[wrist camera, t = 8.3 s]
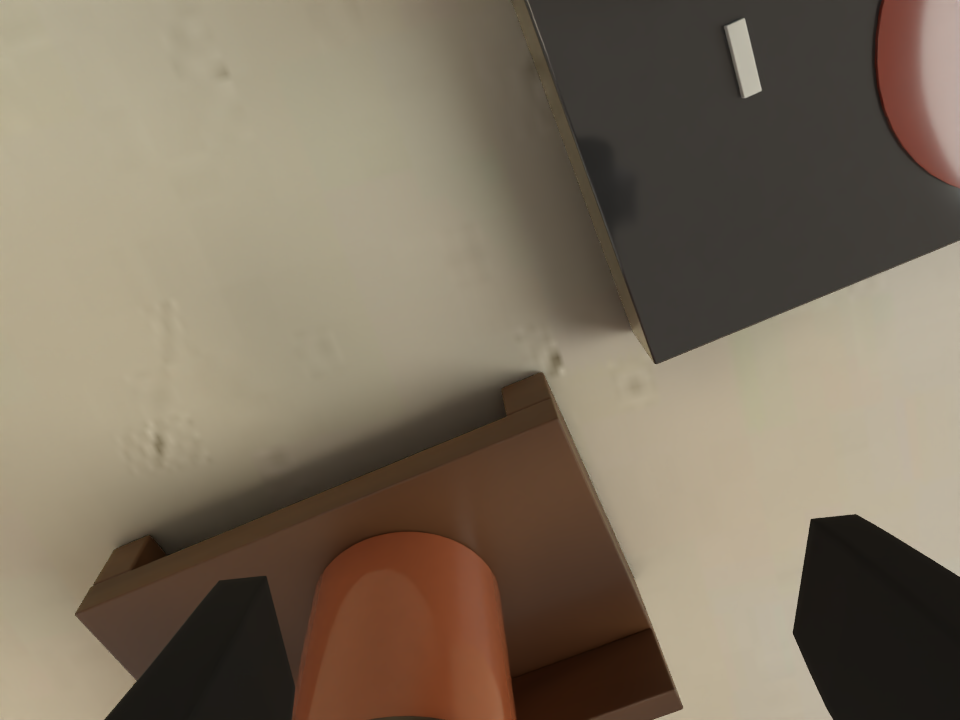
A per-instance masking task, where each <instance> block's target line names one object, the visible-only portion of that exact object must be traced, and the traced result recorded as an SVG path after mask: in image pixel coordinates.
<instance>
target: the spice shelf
mask: <svg viewBox="0 0 960 720" xmlns="http://www.w3.org/2000/svg"><path fill="white" fill-rule="evenodd" d="M501 392H502V397H503V402H504V407H505V412H506V416H507V417H504V418H502V419H499V420H497V421H494V422H492V423H490V424H487V425H485V426H482V427H480V428H477V429H475V430H472V431H470V432H468V433H465V434H463V435H460V436H458V437H455V438H453V439H451V440H448V441H446V442H443V443H441V444H438V445H436V446H433V447H431V448H429V449H426V450H424V451H421V452H419V453H416V454H414V455H412V456H409V457H407V458H404V459H402V460H399V461H397V462H394V463H392V464H390V465H387V466H385V467H382V468H380V469H377V470H375V471H373V472H370V473H368V474H365V475H363V476H360V477H358V478H355V479H353V480H351V481H348V482H346V483H343V484H341V485H338V486H336V487H334V488H331V489H329V490H326V491H324V492H321V493H319V494H316V495H314V496H312V497H309V498H307V499H304V500H302V501H299V502H297V503H294V504H292V505H290V506H287V507H285V508H282V509H280V510H277V511H275V512H273V513H270V514H268V515H265V516H263V517H260V518H258V519H255V520H253V521H251V522H248V523H246V524H243V525H241V526H238V527H236V528H234V529H231V530H229V531H226V532H224V533H221V534H219V535H216V536H214V537H212V538H209V539H207V540H204V541H202V542H199V543H197V544H195V545H192V546H190V547H187V548H185V549H182V550H180V551H177V552H175V553H173V554H170V555H168V556H167V555H166V554H165V553H164V551H163V550H162V549H161V548H160V546H159V545H158V544H157V543H156V542H155V540H154V539H153V538H152V537H151V536H150V535H147V536H145V537H143V538H140V539H138V540H135V541H133V542H131V543H128V544H126V545H123V546H121V547H119V548H116V549H115V550H114V551H113V552H112V554H111V556H110V557H109V559H108V561H107V562H106V564H105V566H104V567H103V569H102V571H101V572H100V574H99V576H98V577H97V579H96V581H95V582H94V584H93V586H92V587H91V588H90V590H89V591H88V593H87V595H86V596H85V598H84V600H83V601H82V603H81V605H80V606H79V608H78V610H77V611H76V613H75V616H76V617H77V618H78V619H79V620H80V621H81V622H82V623H83V624H84V625H85V626H86V627H87V628H88V630H89V631H90V632H91V633H92V634H93V635H94V636H95V637H96V638H97V639H98V640H99V641H100V642H101V643H102V644H103V645H104V646H105V648H106V649H107V650H108V651H109V652H110V653H111V654H112V655H113V656H114V657H115V658H116V659H117V660H118V661H119V662H120V663H121V665H122V666H123V667H124V668H125V669H126V670H127V671H128V672H129V673H130V674H131V675H132V676H133V677H134V678H135V679H136V680H138V679H139V678H140V677H141V676H142V674H143V673H144V672H145V671H146V670H147V668H148V667H149V666H150V665H151V663H152V662H153V661H154V660H155V658H156V657H157V656H158V655H159V654H160V652H161V651H162V650H163V649H164V647H165V646H166V645H167V644H168V642H169V641H170V640H171V639H172V637H173V636H174V635H175V634H176V632H177V631H178V630H179V629H180V627H181V626H182V625H183V624H184V622H185V621H186V620H187V619H188V617H189V616H190V615H191V614H192V612H193V611H194V610H195V609H196V608H197V606H198V605H199V604H200V603H201V601H202V600H203V599H204V598H205V597H206V595H207V594H208V593H209V592H210V590H211V589H212V588H213V587H214V586H215V585H216V584H217V582H218V581H219V580H228V579H238V578H247V577H257V576H267V580H268V584H269V588H270V592H271V596H272V599H273V603H274V607H275V611H276V615H277V619H278V622H279V626H280V630H281V634H282V638H283V642H284V646H285V649H286V653H287V657H288V661H289V665H290V669H291V672H292V676H293V680H294V684H295V685H296V680H297V675H298V670H299V665H300V660H301V655H302V650H303V645H304V640H305V635H306V630H307V625H308V620H309V614H310V609H311V604H312V599H313V594H314V591H315V587H316V584H317V582H318V580H319V578H320V576H321V574H322V573H323V572H324V570H325V569H326V567H327V566H328V565H329V564H330V563H331V562H332V561H333V560H334V559H335V558H336V557H337V556H338V555H339V554H341V553H342V552H343V551H344V550H346V549H348V548H349V547H351V546H353V545H354V544H356V543H359V542H361V541H363V540H365V539H368V538H371V537H374V536H377V535H382V534H386V533H392V532H401V531H416V532H426V533H431V534H436V535H440V536H444V537H447V538H450V539H452V540H454V541H457V542H459V543H461V544H463V545H464V546H466V547H468V548H469V549H471V550H472V551H473V552H475V553H476V554H477V555H478V556H479V557H481V559H482V560H483V561H484V562H485V563H486V564H487V565H488V567H489V568H490V570H491V571H492V573H493V574H494V576H495V578H496V581H497V583H498V586H499V590H500V596H501V603H502V611H503V619H504V626H505V634H506V641H507V649H508V656H509V664H510V672H511V679H512V687H513V694H514V702H515V710H516V717H517V720H653V719H656V718H659V717H661V716H664V715H667V714H670V713H673V712H676V711H679V710H681V709H683V705H682V703H681V700H680V698H679V695H678V692H677V690H676V687H675V684H674V682H673V679H672V676H671V674H670V671H669V669H668V666H667V663H666V661H665V658H664V655H663V653H662V650H661V648H660V645H659V642H658V640H657V637H656V634H655V632H654V629H653V626H652V624H651V621H650V619H649V616H648V613H647V611H646V608H645V606H644V603H643V600H642V598H641V595H640V592H639V590H638V587H637V584H636V582H635V580H634V577H633V575H632V573H631V571H630V568H629V566H628V564H627V561H626V559H625V557H624V555H623V552H622V550H621V548H620V546H619V543H618V541H617V539H616V537H615V534H614V532H613V530H612V527H611V525H610V523H609V521H608V518H607V516H606V514H605V512H604V509H603V507H602V505H601V503H600V500H599V498H598V496H597V493H596V491H595V489H594V487H593V484H592V482H591V480H590V478H589V475H588V473H587V471H586V469H585V466H584V464H583V462H582V459H581V457H580V455H579V453H578V450H577V448H576V446H575V444H574V441H573V439H572V437H571V435H570V432H569V430H568V428H567V425H566V423H565V421H564V419H563V416H562V414H561V412H560V410H559V407H558V405H557V403H556V400H555V398H554V396H553V394H552V391H551V389H550V387H549V385H548V382H547V380H546V378H545V376H544V374H543V373H542V372H540V373H537V374H535V375H532V376H530V377H528V378H525V379H523V380H520V381H518V382H515V383H513V384H511V385H508V386H506V387H503V388H502V389H501Z"/></svg>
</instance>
